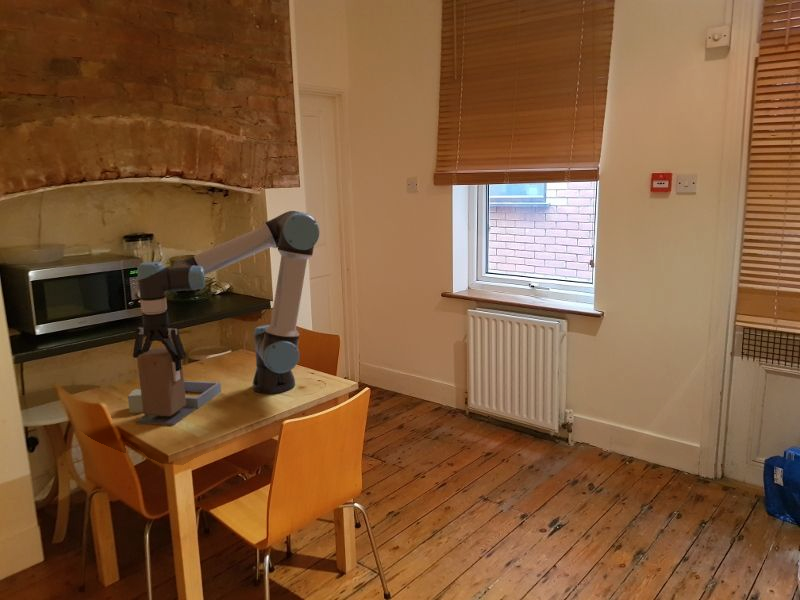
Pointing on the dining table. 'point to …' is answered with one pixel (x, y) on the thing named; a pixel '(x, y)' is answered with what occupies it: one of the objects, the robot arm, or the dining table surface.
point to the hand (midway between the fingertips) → (162, 379)
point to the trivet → (165, 418)
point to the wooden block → (160, 383)
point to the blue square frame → (206, 387)
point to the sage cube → (135, 401)
